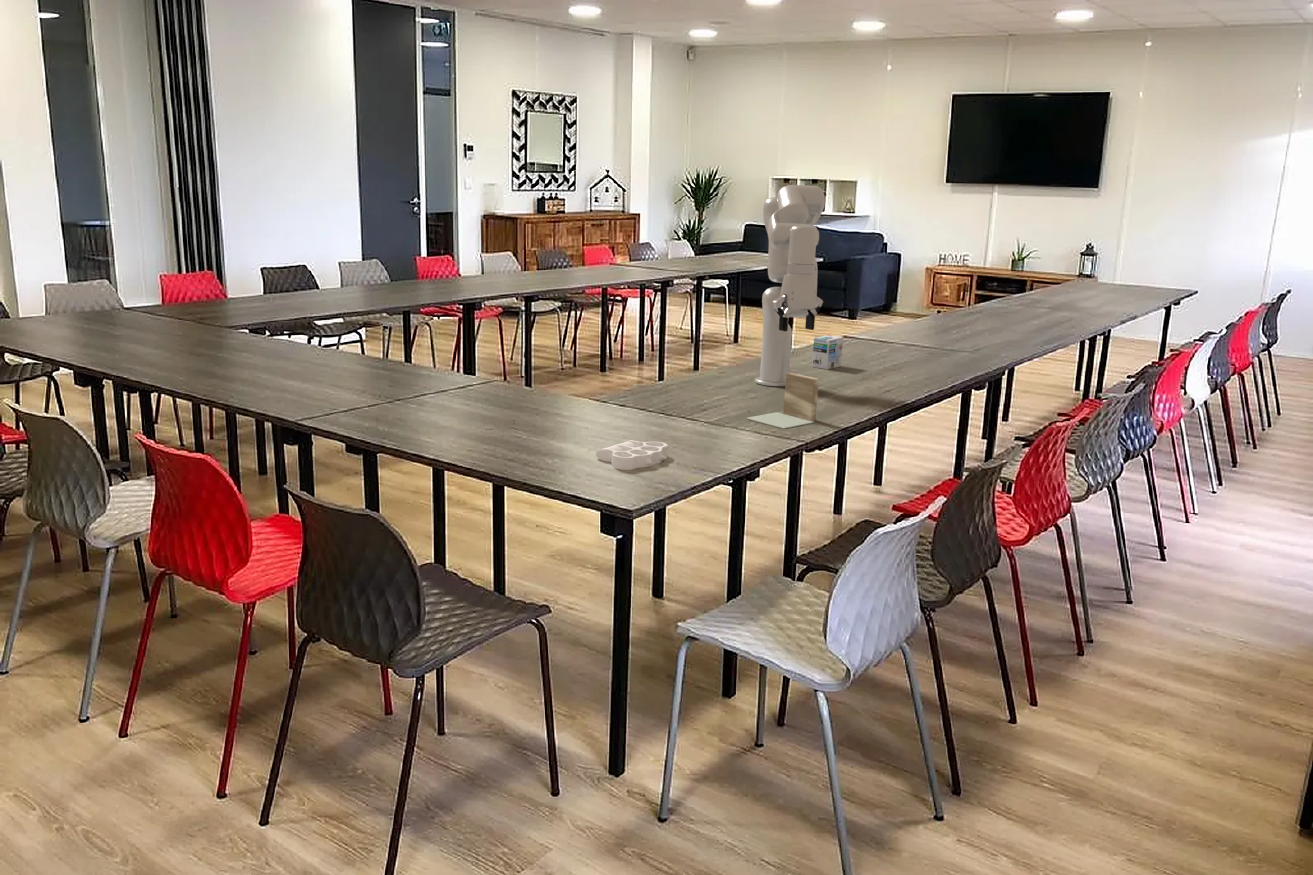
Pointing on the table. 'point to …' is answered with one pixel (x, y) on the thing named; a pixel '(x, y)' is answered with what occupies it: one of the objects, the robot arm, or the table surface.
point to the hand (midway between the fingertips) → (796, 330)
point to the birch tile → (801, 396)
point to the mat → (779, 420)
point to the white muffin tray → (634, 454)
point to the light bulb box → (827, 352)
